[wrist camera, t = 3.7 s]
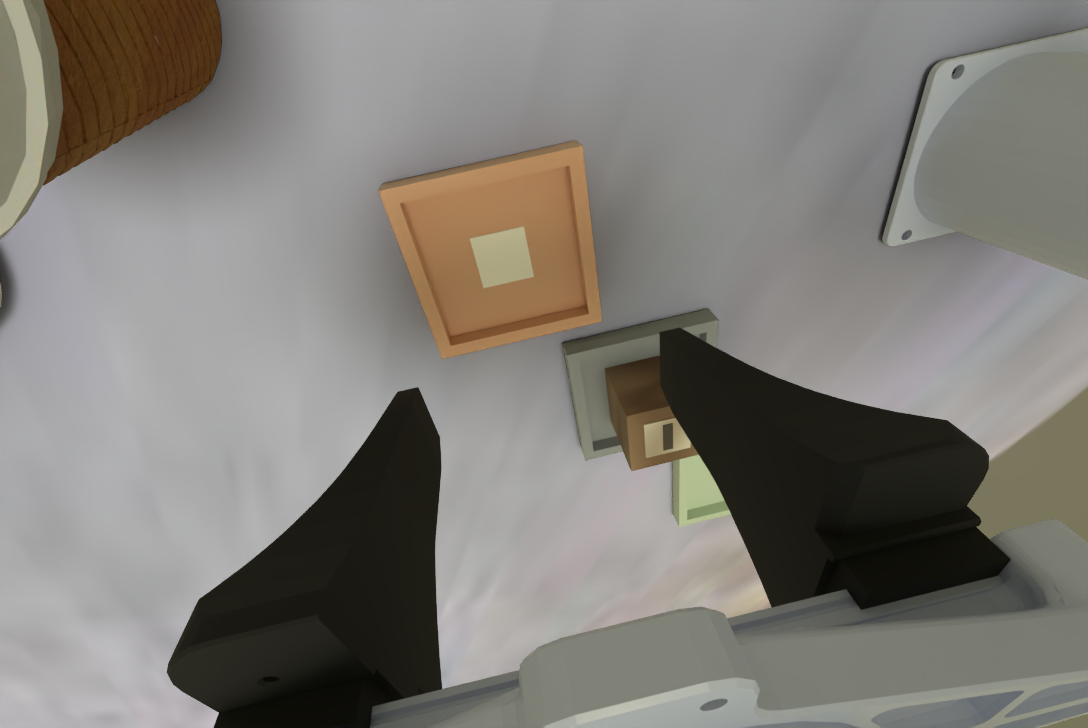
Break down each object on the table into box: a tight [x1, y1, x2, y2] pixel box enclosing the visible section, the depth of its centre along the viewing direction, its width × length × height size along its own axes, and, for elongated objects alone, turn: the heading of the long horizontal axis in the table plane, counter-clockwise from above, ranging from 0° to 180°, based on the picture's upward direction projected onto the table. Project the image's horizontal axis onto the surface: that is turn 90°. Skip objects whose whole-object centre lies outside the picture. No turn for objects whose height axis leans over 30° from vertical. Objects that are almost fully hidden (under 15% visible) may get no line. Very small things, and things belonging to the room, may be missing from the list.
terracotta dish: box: [379, 141, 602, 359], centre depth 20 cm, size 8×8×1 cm
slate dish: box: [562, 309, 719, 460], centre depth 26 cm, size 8×8×1 cm
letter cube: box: [605, 355, 699, 471], centre depth 24 cm, size 4×4×4 cm
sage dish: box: [673, 455, 731, 527], centre depth 32 cm, size 8×8×1 cm
